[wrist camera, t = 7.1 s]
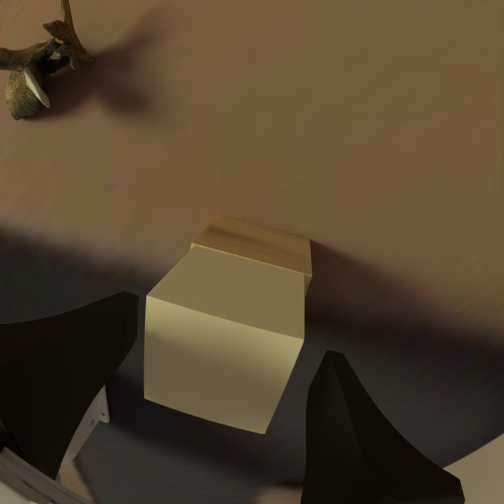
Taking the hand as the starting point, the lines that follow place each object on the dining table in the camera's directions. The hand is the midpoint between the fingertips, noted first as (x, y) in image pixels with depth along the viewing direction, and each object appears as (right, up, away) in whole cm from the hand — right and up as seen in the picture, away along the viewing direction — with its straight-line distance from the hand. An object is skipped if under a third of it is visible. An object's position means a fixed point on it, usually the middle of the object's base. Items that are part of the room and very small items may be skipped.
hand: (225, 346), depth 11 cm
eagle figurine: (-13, +16, +5) cm, 21 cm away
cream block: (0, +1, +2) cm, 3 cm away
